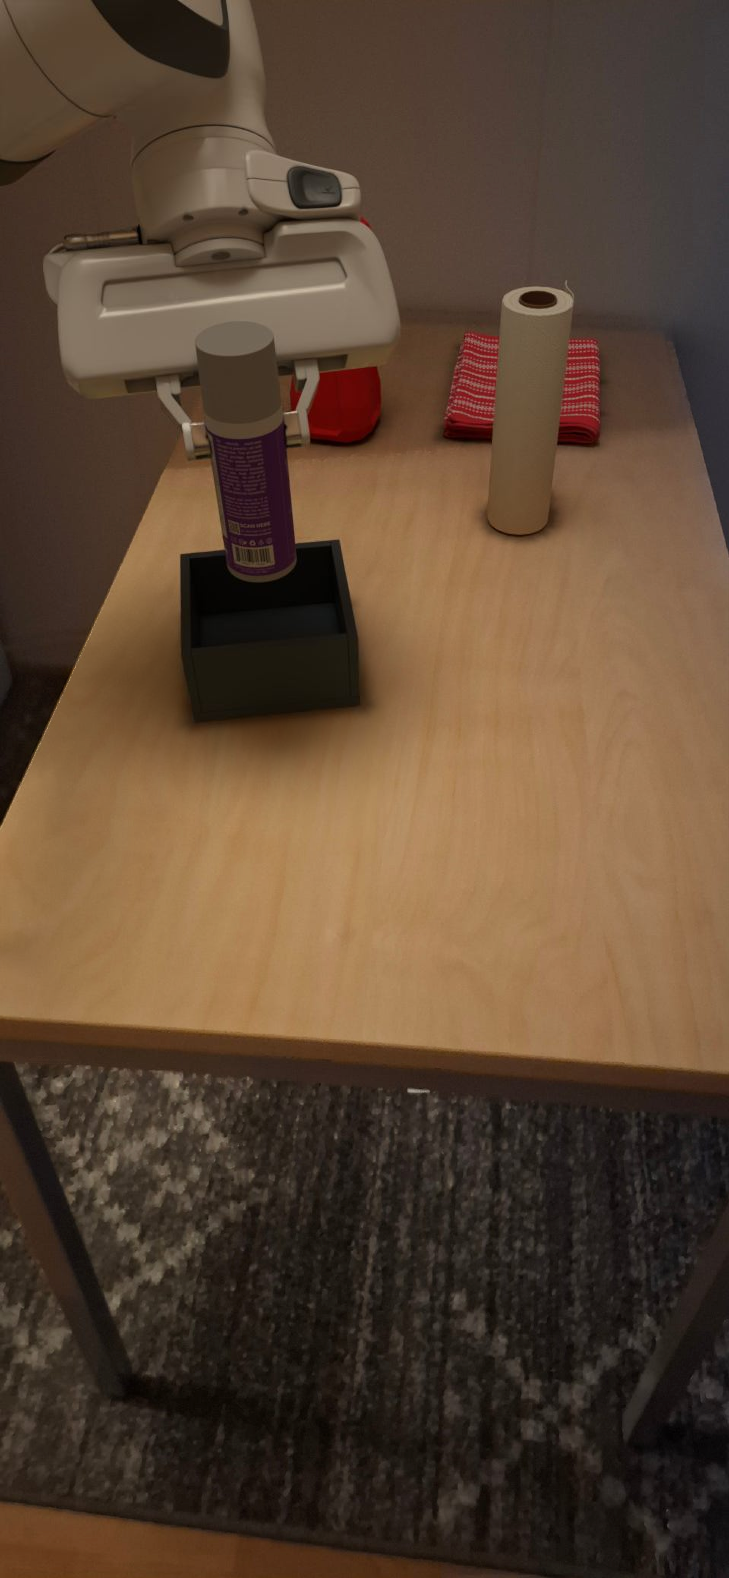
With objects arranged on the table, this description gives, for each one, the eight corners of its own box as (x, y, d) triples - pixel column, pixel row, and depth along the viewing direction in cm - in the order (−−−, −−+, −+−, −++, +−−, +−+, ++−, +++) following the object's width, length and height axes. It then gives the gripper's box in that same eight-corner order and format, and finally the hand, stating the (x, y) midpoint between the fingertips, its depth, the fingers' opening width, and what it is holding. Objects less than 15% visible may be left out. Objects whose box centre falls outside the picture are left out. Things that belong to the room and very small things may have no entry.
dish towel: (440, 441, 114) (441, 418, 112) (459, 346, 130) (460, 325, 128) (599, 450, 112) (603, 426, 110) (598, 352, 128) (601, 330, 126)
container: (311, 559, 69) (293, 335, 58) (259, 591, 67) (230, 365, 56) (264, 533, 72) (238, 313, 61) (212, 563, 70) (175, 340, 59)
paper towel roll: (501, 542, 100) (520, 317, 85) (477, 510, 104) (490, 290, 89) (569, 527, 102) (600, 303, 86) (542, 496, 106) (567, 277, 90)
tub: (193, 722, 84) (180, 655, 79) (192, 619, 93) (180, 553, 88) (360, 705, 85) (358, 638, 80) (342, 605, 94) (339, 539, 89)
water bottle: (296, 400, 121) (278, 159, 103) (387, 411, 119) (385, 165, 101) (270, 439, 115) (245, 190, 97) (365, 451, 113) (359, 197, 95)
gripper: (25, 209, 58) (66, 457, 59) (384, 174, 60) (420, 414, 61) (47, 263, 64) (84, 486, 65) (371, 229, 67) (404, 446, 67)
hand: (249, 451), depth 63 cm, fingers closed on container, 4 cm apart
